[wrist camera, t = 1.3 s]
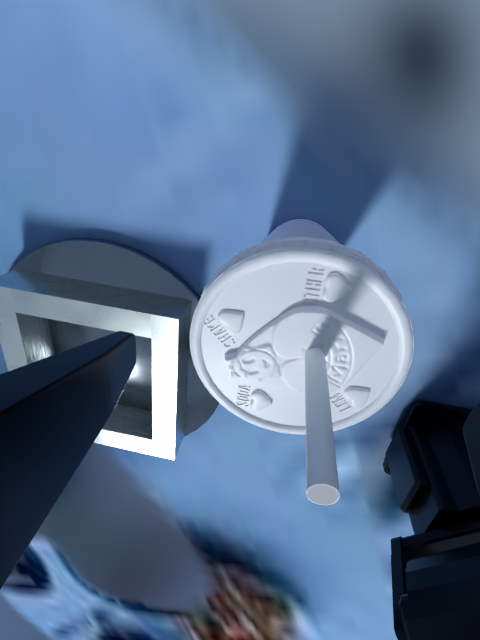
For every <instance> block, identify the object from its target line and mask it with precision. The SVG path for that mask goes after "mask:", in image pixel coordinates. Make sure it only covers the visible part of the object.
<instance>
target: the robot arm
mask: <svg viewBox="0 0 480 640" xmlns="http://www.w3.org/2000/svg"><path fill="white" fill-rule="evenodd" d="M136 359H137V357H136V337H135V335H134V334H133V333H129V332H124V331H118V332H115V333H112V334H109V335H107V336H104V337H101V338H99V339H96V340H93V341H90V342H88V343H85V344H82V345H79V346H77V347H74V348H71V349H68V350H66V351H63V352H60V353H58V354H55V355H52V356H49V357H47V358H44V359H41V360H38V361H36V362H33V363H30V364H27V365H25V366H22V367H19V368H17V369H14V370H11V371H8V372H6V373H3V374H0V589H1V588H2V586H3V585H4V583H5V581H6V580H7V578H8V577H9V575H10V574H11V572H12V570H13V569H14V567H15V566H16V564H17V562H18V561H19V559H20V558H21V556H22V555H23V553H24V551H25V550H26V548H27V547H28V545H29V544H30V542H31V540H32V539H33V537H34V536H35V534H36V533H37V531H38V529H39V528H40V526H41V525H42V523H43V521H44V520H45V518H46V517H47V515H48V513H49V512H50V510H51V509H52V507H53V506H54V504H55V503H56V501H57V499H58V498H59V496H60V495H61V493H62V492H63V490H64V488H65V487H66V485H67V484H68V482H69V480H70V479H71V477H72V476H73V474H74V473H75V471H76V469H77V468H78V466H79V465H80V463H81V461H82V460H83V458H84V457H85V455H86V454H87V452H88V450H89V449H90V447H91V446H92V444H93V443H94V441H95V439H96V438H97V436H98V435H99V433H100V432H101V430H102V428H103V427H104V425H105V424H106V422H107V421H108V419H109V417H110V416H111V414H112V412H113V410H114V408H115V406H116V404H117V402H118V400H119V398H120V396H121V394H122V392H123V390H124V388H125V386H126V384H127V382H128V380H129V378H130V375H131V373H132V371H133V369H134V367H135V364H136ZM420 408H423V409H421V410H418V409H420ZM383 468H384V471H385V472H386V473H387V474H390V475H391V477H392V481H393V485H394V489H395V493H396V496H397V500H398V504H399V507H400V509H401V510H402V512H404V513H409V517H410V520H411V524H412V527H413V531H414V534H415V535H412V536H408V537H404V538H402V537H397V538H393V539H391V553H392V555H391V566H392V590H393V615H394V630H395V634H396V636H397V639H398V640H480V402H478V403H477V404H476V405H475V407H474V409H473V410H469V409H463V408H458V407H453V406H448V405H443V404H437V403H432V402H427V401H416V402H414V403H413V404H412V405H411V407H410V409H409V411H408V413H407V416H406V418H405V420H404V422H403V424H402V426H401V427H399V428H398V429H397V431H396V433H395V435H394V437H393V439H392V441H391V443H390V445H389V447H388V450H387V452H386V459H385V461H384V463H383Z"/></svg>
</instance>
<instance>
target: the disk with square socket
mask: <svg viewBox="0 0 480 640" xmlns="http://www.w3.org/2000/svg"><path fill="white" fill-rule="evenodd" d="M199 301H200V297H199V295H198V294H197V293H196V292H195V291H194V290H193V289H192V288H191V287H190V286H189V285H188V284H187V282H186V281H185V280H183V279H182V278H181V277H180V276H179V275H177V274H176V273H175V272H174V271H172V270H171V269H170V268H168V267H167V266H165V265H164V264H162V263H161V262H159V261H158V260H156V259H155V258H153V257H151V256H149V255H147V254H145V253H143V252H141V251H139V250H136V249H133V248H131V247H128V246H125V245H122V244H119V243H115V242H110V241H106V240H99V239H89V238H82V239H68V240H63V241H58V242H54V243H51V244H49V245H46V246H43V247H41V248H38V249H36V250H34V251H32V252H31V253H29V254H27V255H26V256H24V257H23V258H22V259H20V260H19V261H18V262H17V263H16V264H15V265H14V266H13V267H12V268H11V270H10V271H9V272H8V273H6V274H4V275H2V276H0V343H1V346H2V350H3V354H4V357H5V361H6V365H7V368H8V371H11V370H14V369H17V368H19V367H22V366H25V365H27V364H30V363H33V362H36V361H38V360H41V359H44V358H47V357H49V356H52V355H55V354H58V353H60V352H63V351H66V350H68V349H71V348H74V347H77V346H79V345H82V344H85V343H88V342H90V341H93V340H96V339H99V338H101V337H104V336H107V335H109V334H112V333H115V332H118V331H124V332H129V333H133V334H134V335H135V337H136V357H137V359H136V364H135V367H134V369H133V371H132V373H131V375H130V378H129V380H128V382H127V384H126V386H125V388H124V390H123V392H122V394H121V396H120V398H119V400H118V402H117V404H116V406H115V408H114V410H113V412H112V414H111V416H110V417H109V419H108V421H107V422H106V424H105V425H104V427H103V428H102V430H101V432H100V433H99V435H98V436H97V438H96V439H95V441H94V443H99V444H103V445H108V446H112V447H117V448H121V449H126V450H130V451H135V452H140V453H144V454H149V455H153V456H158V457H162V458H167V459H171V460H175V457H176V455H177V452H178V450H179V447H180V445H181V442H182V439H183V437H184V436H186V435H188V434H190V433H192V432H193V431H195V430H197V429H198V428H199V427H200V426H202V425H203V424H204V423H205V422H206V421H207V420H208V419H209V418H210V416H211V415H212V414H213V413H214V411H215V409H216V408H217V406H218V404H219V402H218V401H217V400H216V399H215V398H214V397H213V396H212V395H211V394H210V392H209V391H208V390H207V388H206V387H205V386H204V384H203V382H202V381H201V379H200V377H199V375H198V373H197V371H196V369H195V366H194V363H193V360H192V356H191V350H190V327H191V322H192V318H193V315H194V312H195V309H196V307H197V305H198V303H199Z"/></svg>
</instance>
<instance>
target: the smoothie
mask: <svg viewBox="0 0 480 640" xmlns="http://www.w3.org/2000/svg"><path fill="white" fill-rule="evenodd" d="M413 349H414V337H413V330H412V324H411V321H410V318H409V315H408V312H407V310H406V308H405V306H404V304H403V302H402V298H401V295H400V293H399V292H398V290H397V289H396V287H395V286H394V284H393V283H392V281H391V280H390V278H389V277H388V275H387V274H386V272H385V271H384V270H383V269H381V268H380V267H379V266H377V265H376V264H375V263H374V262H372V261H371V260H370V259H369V258H367V257H366V256H365V255H364V254H362V253H361V252H359V251H357V250H354V249H352V248H349V247H347V246H344V245H342V244H340V243H339V242H338V241H337V240H336V239H335V238H334V237H333V236H332V235H331V234H330V233H329V232H328V231H327V230H326V229H325V228H323V227H322V226H321V225H319V224H318V223H316V222H314V221H311V220H307V219H294V220H290V221H287V222H284V223H282V224H281V225H279V226H278V227H277V228H275V229H274V230H273V231H272V232H271V233H270V234H269V235H268V236H267V237H266V238H265V239H264V240H263V241H262V242H261V243H260V244H258V245H255V246H253V247H250V248H248V249H246V250H243V251H241V252H239V253H238V254H237V255H235V256H234V257H233V258H232V259H230V260H229V261H228V262H226V263H225V264H224V265H223V266H221V267H220V268H219V269H218V270H217V271H216V273H215V274H214V276H213V277H212V278H211V280H210V281H209V283H208V284H207V285H206V287H205V288H204V289H203V292H202V295H201V298H200V301H199V303H198V305H197V307H196V309H195V312H194V315H193V318H192V322H191V327H190V350H191V356H192V360H193V363H194V366H195V369H196V371H197V373H198V375H199V377H200V379H201V381H202V382H203V384H204V386H205V387H206V388H207V390H208V391H209V392H210V394H211V395H212V396H213V397H214V398H215V399H216V400H217V401H218V402H219V403H220V404H221V405H222V406H224V407H225V408H226V409H227V410H229V411H230V412H232V413H233V414H235V415H236V416H238V417H240V418H241V419H243V420H245V421H247V422H249V423H251V424H254V425H256V426H259V427H261V428H265V429H268V430H272V431H276V432H281V433H289V434H306V495H307V498H308V499H309V500H310V501H312V502H313V503H316V504H319V505H331V504H334V503H335V502H337V501H338V500H339V497H340V494H339V485H338V475H337V465H336V456H335V446H334V436H333V431H337V430H340V429H343V428H346V427H349V426H352V425H354V424H356V423H358V422H361V421H363V420H364V419H366V418H368V417H370V416H371V415H373V414H374V413H376V412H377V411H378V410H380V409H381V408H382V407H383V406H384V405H386V404H387V403H388V402H389V401H390V400H391V398H392V397H393V396H394V395H395V394H396V392H397V391H398V390H399V388H400V387H401V385H402V384H403V382H404V380H405V378H406V376H407V374H408V371H409V368H410V365H411V362H412V357H413Z"/></svg>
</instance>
